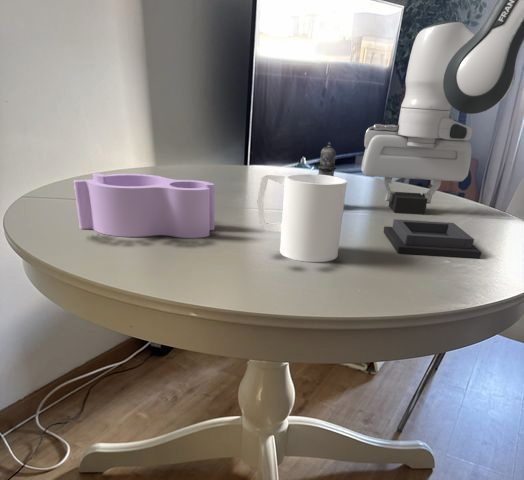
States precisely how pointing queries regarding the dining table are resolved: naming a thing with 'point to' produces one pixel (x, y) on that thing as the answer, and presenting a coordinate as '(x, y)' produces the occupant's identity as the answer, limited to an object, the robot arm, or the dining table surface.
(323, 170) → the salt shaker
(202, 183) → the purple hollow rounded tray
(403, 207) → the black pad
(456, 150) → the robot arm
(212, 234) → the dining table surface
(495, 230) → the dining table surface
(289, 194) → the cup
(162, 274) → the dining table surface
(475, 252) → the base pad
